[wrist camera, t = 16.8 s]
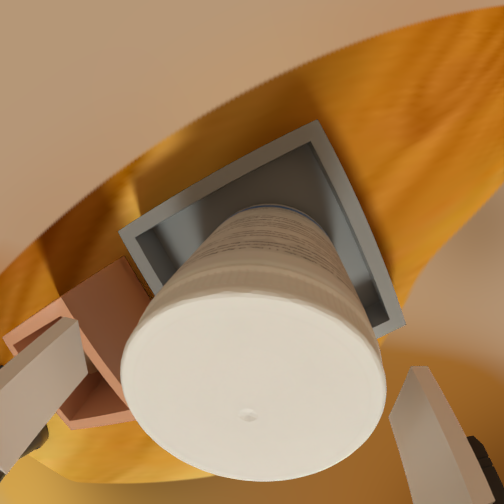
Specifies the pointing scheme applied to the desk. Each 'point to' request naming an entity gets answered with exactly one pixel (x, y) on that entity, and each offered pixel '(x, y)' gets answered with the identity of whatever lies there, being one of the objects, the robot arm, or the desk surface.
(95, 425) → the terracotta bin
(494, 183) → the desk surface
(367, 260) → the gray tray
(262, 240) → the supplement tub
